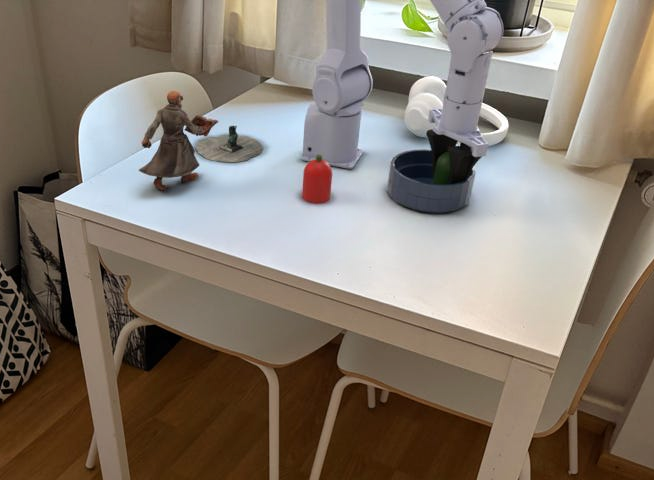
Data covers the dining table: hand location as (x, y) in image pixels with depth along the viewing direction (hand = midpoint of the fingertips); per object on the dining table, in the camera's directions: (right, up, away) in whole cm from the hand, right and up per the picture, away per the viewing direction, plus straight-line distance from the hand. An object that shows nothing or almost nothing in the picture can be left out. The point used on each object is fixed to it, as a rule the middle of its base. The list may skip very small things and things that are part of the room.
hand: (447, 180), depth 121 cm
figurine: (-44, -1, +1) cm, 44 cm away
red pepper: (-21, -3, 0) cm, 22 cm away
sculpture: (-37, +9, +14) cm, 40 cm away
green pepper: (0, -1, +1) cm, 1 cm away
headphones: (+7, +16, +25) cm, 30 cm away
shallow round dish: (-3, -2, +2) cm, 4 cm away
